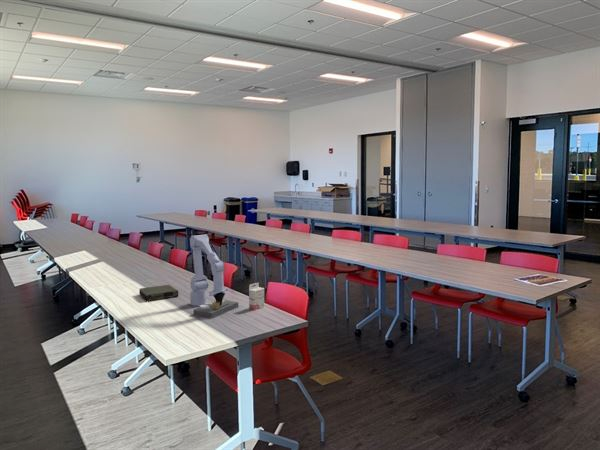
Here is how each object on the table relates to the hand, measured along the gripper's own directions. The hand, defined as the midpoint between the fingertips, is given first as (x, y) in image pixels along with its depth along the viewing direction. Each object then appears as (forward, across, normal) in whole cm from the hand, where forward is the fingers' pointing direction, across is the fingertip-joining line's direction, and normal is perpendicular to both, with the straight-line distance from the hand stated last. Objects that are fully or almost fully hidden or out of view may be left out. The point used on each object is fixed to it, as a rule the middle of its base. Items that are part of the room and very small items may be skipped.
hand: (219, 305), depth 262 cm
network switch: (+5, +11, +62) cm, 63 cm away
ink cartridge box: (+5, +18, -14) cm, 23 cm away
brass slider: (+1, -3, 0) cm, 3 cm away
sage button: (+2, +2, +7) cm, 8 cm away
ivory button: (+2, +9, +7) cm, 12 cm away
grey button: (+2, -5, +7) cm, 9 cm away
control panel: (+4, +2, +4) cm, 6 cm away
